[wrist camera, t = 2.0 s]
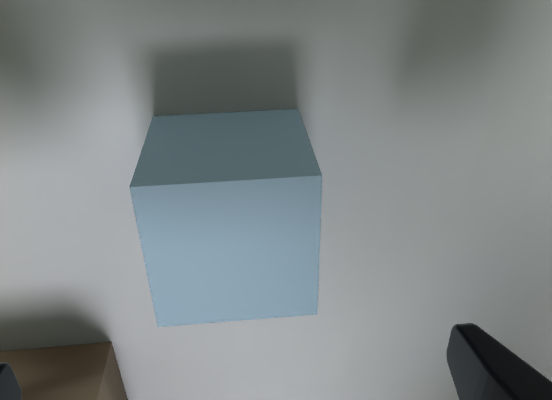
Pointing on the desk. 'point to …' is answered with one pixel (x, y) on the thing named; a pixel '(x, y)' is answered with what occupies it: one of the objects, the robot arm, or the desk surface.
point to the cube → (229, 216)
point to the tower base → (67, 372)
